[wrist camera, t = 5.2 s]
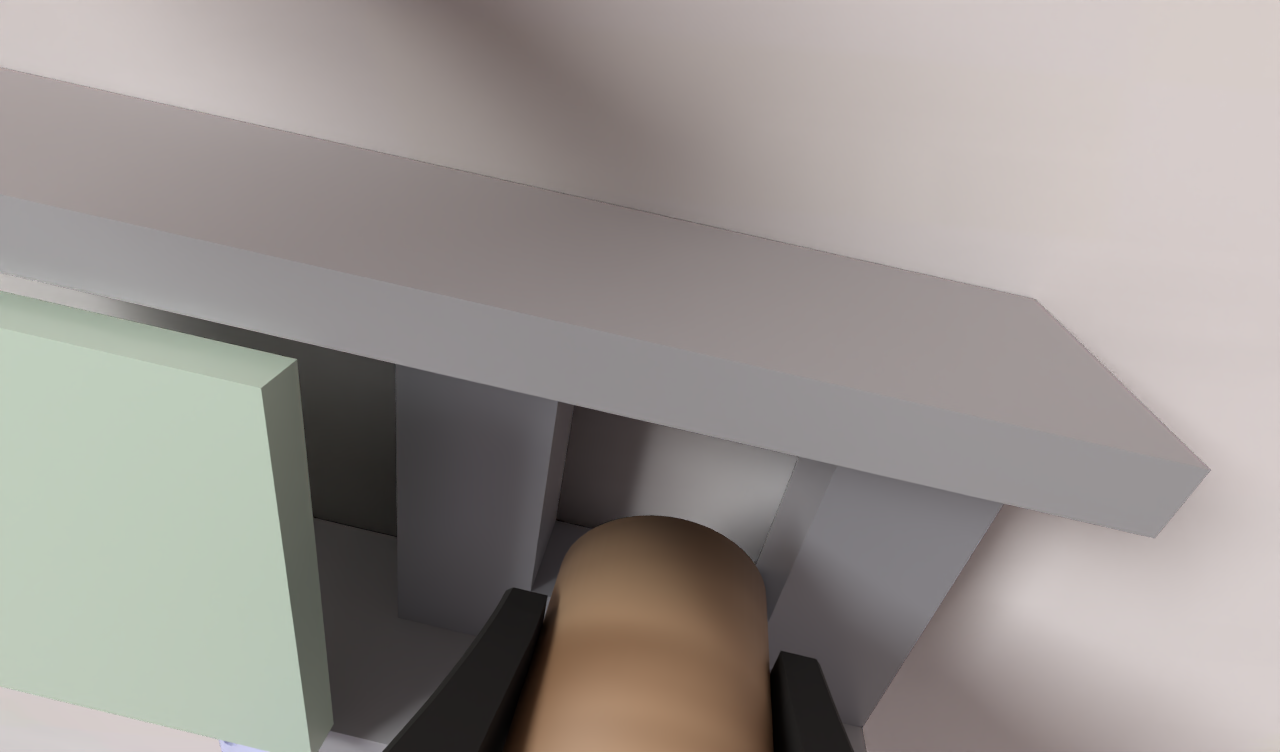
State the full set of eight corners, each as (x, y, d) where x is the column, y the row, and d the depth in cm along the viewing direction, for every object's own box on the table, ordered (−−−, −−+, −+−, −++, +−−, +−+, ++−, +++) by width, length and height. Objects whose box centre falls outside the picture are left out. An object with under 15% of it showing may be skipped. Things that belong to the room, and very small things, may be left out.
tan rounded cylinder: (736, 681, 13) (736, 999, 9) (549, 637, 14) (461, 933, 9) (792, 543, 11) (826, 872, 7) (571, 494, 11) (471, 788, 7)
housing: (833, 668, 19) (866, 890, 14) (48, 483, 19) (-176, 638, 15) (1036, 299, 13) (1210, 469, 8) (-117, 41, 13) (-591, 59, 9)
